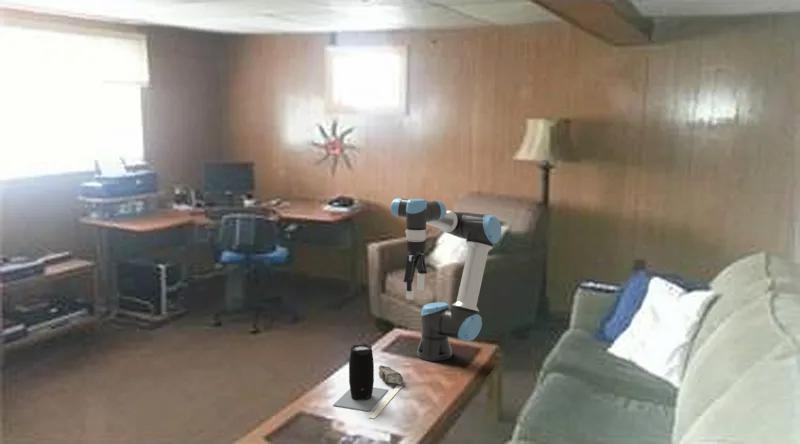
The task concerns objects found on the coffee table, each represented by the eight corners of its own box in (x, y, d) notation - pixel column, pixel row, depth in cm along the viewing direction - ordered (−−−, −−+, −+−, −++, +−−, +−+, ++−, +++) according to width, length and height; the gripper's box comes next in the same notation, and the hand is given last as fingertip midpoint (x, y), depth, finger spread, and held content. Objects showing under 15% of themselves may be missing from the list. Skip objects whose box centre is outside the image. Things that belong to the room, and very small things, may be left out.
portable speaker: (369, 402, 257) (369, 351, 254) (345, 399, 260) (345, 349, 256) (376, 393, 265) (376, 344, 262) (353, 390, 268) (353, 341, 265)
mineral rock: (405, 386, 273) (406, 375, 272) (386, 388, 271) (386, 377, 270) (396, 373, 287) (396, 362, 286) (377, 375, 285) (377, 364, 284)
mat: (354, 385, 274) (354, 384, 274) (388, 390, 270) (388, 389, 270) (333, 405, 255) (333, 404, 255) (368, 411, 251) (368, 410, 251)
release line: (397, 386, 274) (397, 385, 274) (402, 386, 273) (402, 386, 273) (369, 418, 246) (369, 417, 246) (374, 419, 245) (374, 418, 245)
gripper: (416, 233, 278) (415, 285, 281) (395, 245, 254) (395, 301, 258) (434, 234, 275) (433, 287, 279) (415, 246, 252) (414, 303, 256)
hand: (415, 294), depth 268 cm, fingers open, 13 cm apart
